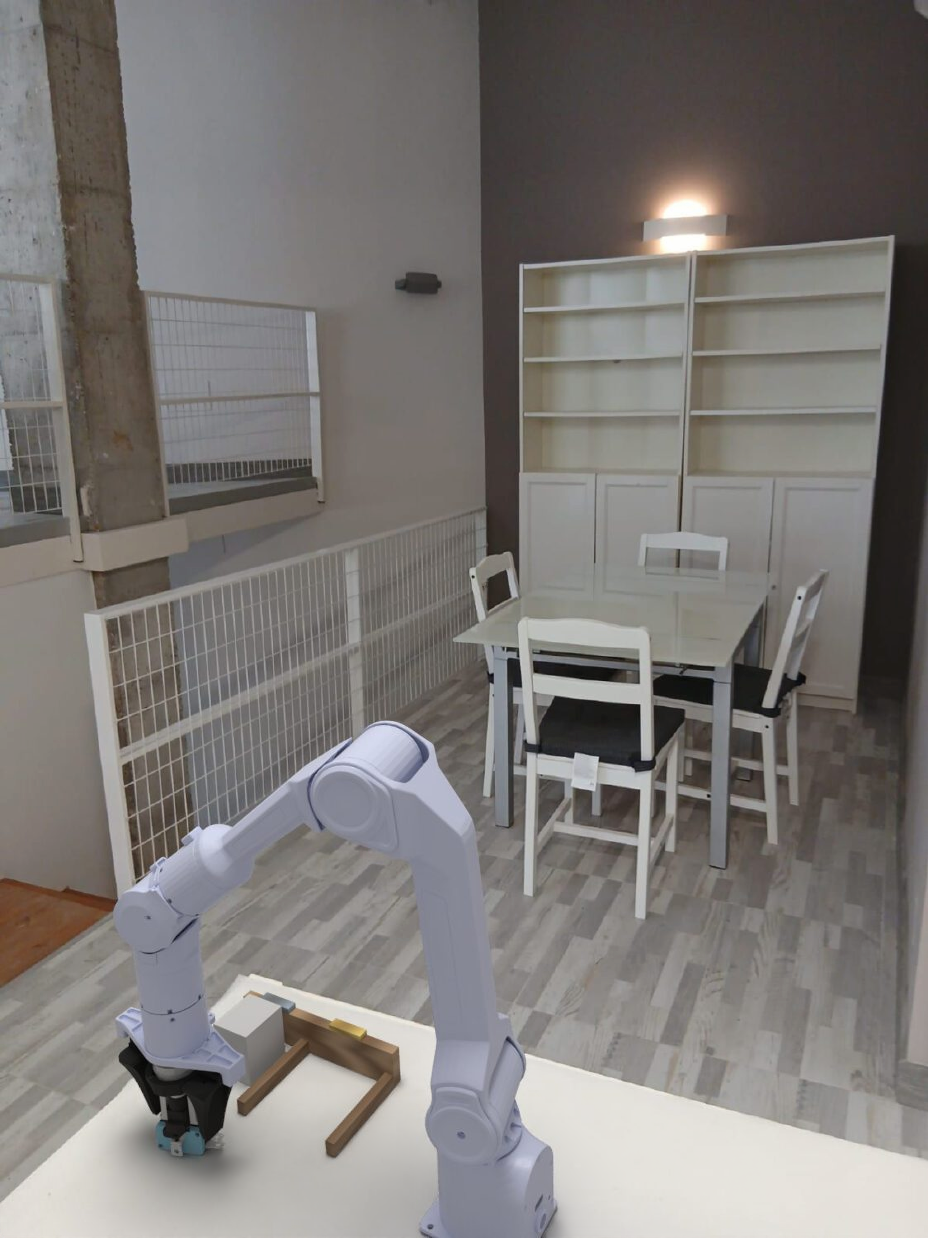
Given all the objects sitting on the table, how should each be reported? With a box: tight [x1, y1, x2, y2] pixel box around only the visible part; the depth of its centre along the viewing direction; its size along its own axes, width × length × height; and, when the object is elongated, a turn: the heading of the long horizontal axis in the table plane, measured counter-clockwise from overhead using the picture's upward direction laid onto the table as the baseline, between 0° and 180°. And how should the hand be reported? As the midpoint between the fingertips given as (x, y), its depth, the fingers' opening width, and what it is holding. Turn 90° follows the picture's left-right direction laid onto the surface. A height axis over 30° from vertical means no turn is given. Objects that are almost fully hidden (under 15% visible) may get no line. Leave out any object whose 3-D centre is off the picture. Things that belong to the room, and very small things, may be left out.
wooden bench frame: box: [236, 990, 402, 1158], centre depth 95 cm, size 20×11×5 cm, turn 61°
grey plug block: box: [212, 994, 287, 1087], centre depth 98 cm, size 4×6×6 cm
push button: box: [145, 1062, 226, 1158], centre depth 86 cm, size 7×5×10 cm
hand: (187, 1120), depth 87 cm, fingers open, 6 cm apart
